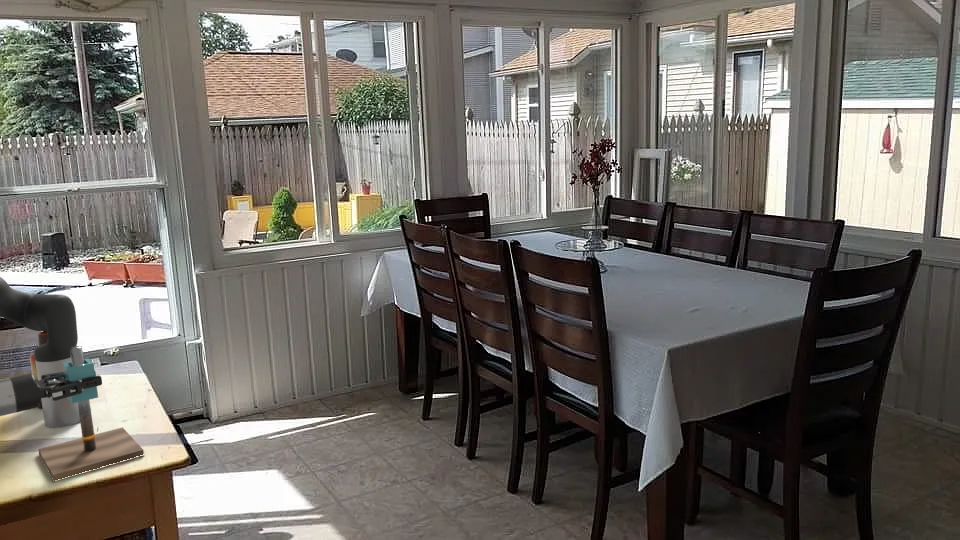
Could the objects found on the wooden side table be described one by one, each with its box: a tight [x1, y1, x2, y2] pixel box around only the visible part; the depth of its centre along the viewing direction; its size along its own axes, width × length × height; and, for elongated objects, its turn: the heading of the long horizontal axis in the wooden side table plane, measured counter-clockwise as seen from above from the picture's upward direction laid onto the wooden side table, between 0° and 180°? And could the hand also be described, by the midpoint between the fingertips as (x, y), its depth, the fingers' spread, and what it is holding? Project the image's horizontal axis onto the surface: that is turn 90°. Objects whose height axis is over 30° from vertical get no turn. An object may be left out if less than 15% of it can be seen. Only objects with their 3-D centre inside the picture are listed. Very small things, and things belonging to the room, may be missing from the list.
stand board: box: [38, 427, 145, 482], centre depth 167 cm, size 18×18×2 cm
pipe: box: [70, 345, 96, 452], centre depth 165 cm, size 3×3×24 cm
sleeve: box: [63, 358, 99, 403], centre depth 164 cm, size 5×5×8 cm
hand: (97, 376), depth 166 cm, fingers closed on sleeve, 5 cm apart
